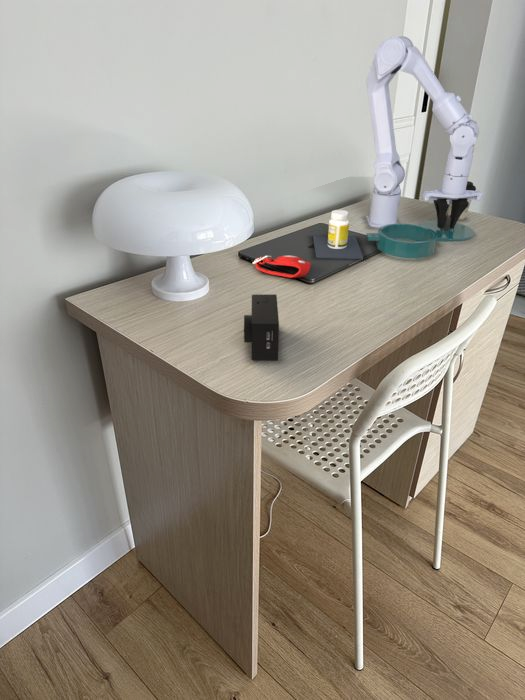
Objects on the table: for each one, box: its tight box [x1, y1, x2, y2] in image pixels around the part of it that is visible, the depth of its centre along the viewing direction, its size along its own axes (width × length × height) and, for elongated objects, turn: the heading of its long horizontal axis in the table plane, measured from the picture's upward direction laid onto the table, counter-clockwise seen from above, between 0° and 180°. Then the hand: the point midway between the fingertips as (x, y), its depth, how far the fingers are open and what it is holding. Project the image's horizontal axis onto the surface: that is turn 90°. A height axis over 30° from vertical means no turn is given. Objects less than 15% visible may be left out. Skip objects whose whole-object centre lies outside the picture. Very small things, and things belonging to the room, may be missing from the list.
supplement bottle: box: [327, 209, 350, 249], centre depth 122 cm, size 5×5×8 cm
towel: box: [312, 235, 364, 260], centre depth 125 cm, size 14×11×1 cm
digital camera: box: [243, 293, 280, 362], centre depth 85 cm, size 10×5×7 cm, turn 1°
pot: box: [365, 222, 448, 259], centre depth 123 cm, size 14×19×4 cm
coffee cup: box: [447, 180, 477, 220], centre depth 142 cm, size 7×7×10 cm
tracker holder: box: [252, 254, 312, 279], centre depth 111 cm, size 12×4×10 cm
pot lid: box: [417, 214, 475, 242], centre depth 133 cm, size 15×15×5 cm
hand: (445, 227), depth 133 cm, fingers closed on pot lid, 2 cm apart
